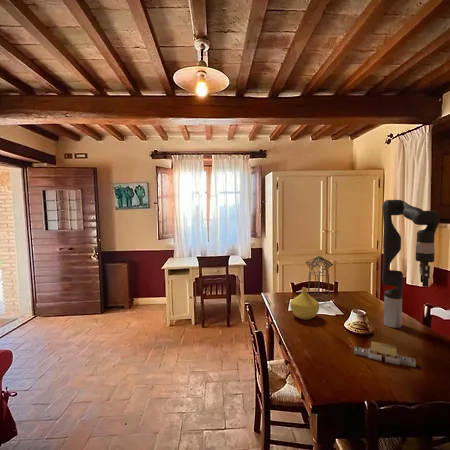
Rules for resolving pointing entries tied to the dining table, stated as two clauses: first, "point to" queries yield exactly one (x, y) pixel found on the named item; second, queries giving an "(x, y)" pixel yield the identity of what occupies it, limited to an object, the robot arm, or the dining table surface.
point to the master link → (383, 349)
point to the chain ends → (388, 359)
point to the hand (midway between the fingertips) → (424, 284)
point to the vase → (304, 305)
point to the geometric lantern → (319, 276)
